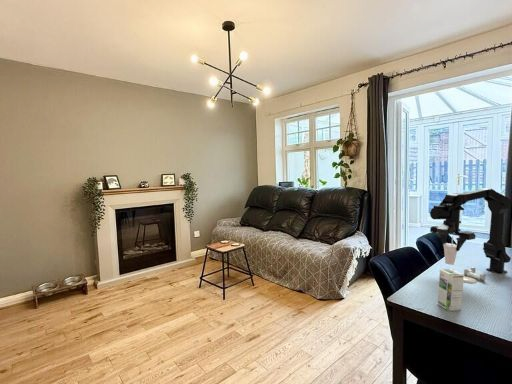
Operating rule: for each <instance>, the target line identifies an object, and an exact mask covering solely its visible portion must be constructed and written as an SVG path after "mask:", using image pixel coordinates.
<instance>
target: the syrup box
mask: <svg viewBox="0 0 512 384" xmlns="http://www.w3.org/2000/svg"><path fill="white" fill-rule="evenodd" d="M463 279H464V273H460V272H459V271H456V270H454V269H451V268H444V269H443V268H442V269H439V275H438V292H437V305H439V306H440V307H442V308H444V309H445V310H446V311H447V312H450V311H452V312H453V311H462V303H463V290H464V289H463V288H464V282H463Z"/></svg>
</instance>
